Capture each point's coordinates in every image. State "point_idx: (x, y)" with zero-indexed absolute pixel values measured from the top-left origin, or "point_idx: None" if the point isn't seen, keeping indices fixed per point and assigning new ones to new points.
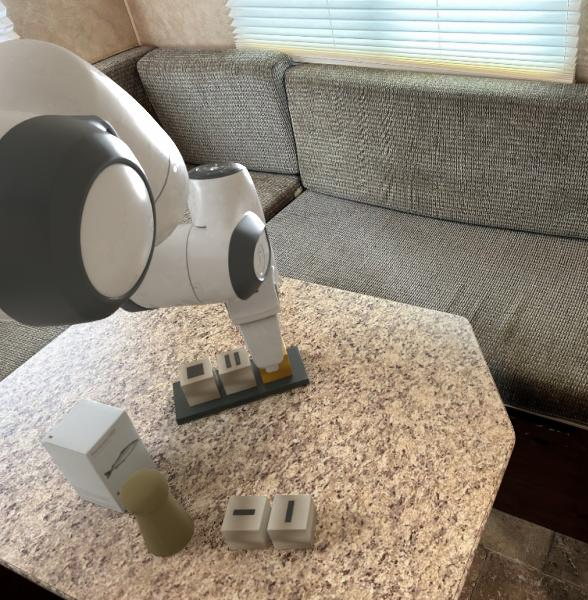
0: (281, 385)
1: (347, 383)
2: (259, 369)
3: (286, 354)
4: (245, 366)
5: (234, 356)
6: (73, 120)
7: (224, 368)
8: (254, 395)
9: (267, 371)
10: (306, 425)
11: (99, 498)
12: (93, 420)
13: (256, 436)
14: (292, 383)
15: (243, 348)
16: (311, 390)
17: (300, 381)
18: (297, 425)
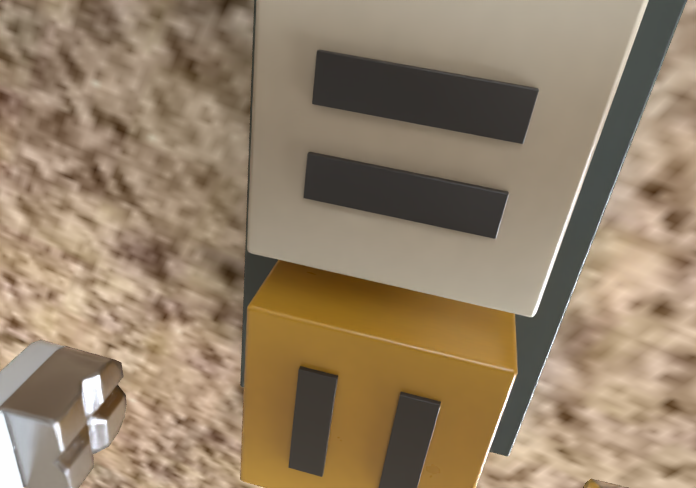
0: (254, 271)
1: (189, 454)
2: (274, 267)
3: (240, 475)
4: (248, 217)
5: (440, 183)
6: None
7: (331, 22)
8: (250, 113)
9: (36, 346)
10: (24, 242)
11: None
12: None
13: (12, 6)
14: (244, 318)
15: (509, 292)
16: (212, 346)
17: (243, 350)
18: (33, 212)
